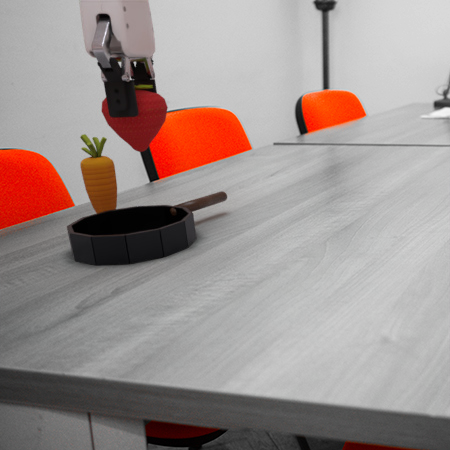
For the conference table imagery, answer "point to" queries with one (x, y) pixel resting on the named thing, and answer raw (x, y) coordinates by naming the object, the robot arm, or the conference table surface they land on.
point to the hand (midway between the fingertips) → (135, 112)
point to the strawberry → (140, 119)
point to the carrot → (99, 176)
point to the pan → (136, 232)
